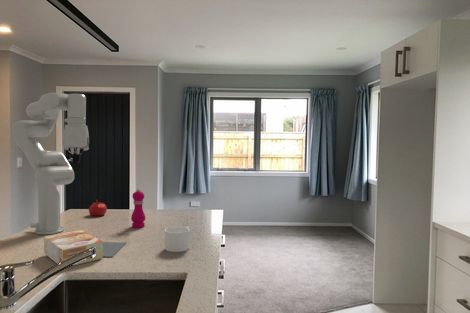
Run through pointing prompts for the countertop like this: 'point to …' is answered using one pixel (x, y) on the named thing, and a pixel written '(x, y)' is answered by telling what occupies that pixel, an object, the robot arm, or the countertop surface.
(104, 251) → the mat
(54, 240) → the coffeecake box
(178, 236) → the mug
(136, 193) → the pepper mill
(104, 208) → the pomegranate
